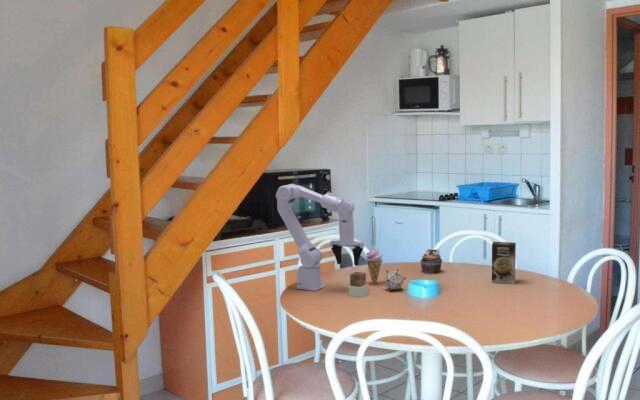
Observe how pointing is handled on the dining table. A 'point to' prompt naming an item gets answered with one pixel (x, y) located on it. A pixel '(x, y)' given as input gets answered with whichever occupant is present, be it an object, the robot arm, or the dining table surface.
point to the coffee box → (503, 262)
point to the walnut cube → (358, 279)
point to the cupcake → (431, 262)
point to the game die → (394, 280)
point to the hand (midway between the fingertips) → (347, 264)
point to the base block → (358, 291)
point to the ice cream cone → (374, 264)
